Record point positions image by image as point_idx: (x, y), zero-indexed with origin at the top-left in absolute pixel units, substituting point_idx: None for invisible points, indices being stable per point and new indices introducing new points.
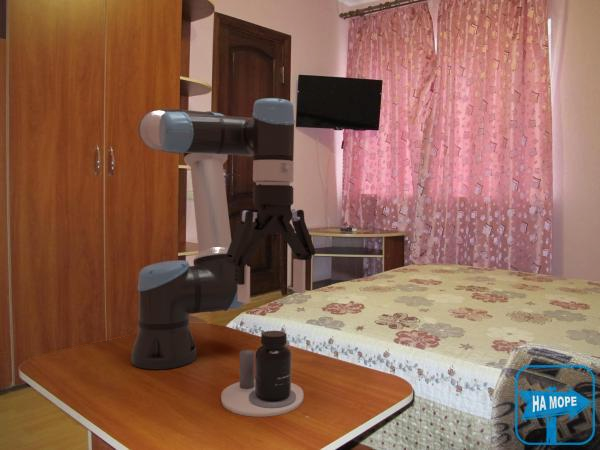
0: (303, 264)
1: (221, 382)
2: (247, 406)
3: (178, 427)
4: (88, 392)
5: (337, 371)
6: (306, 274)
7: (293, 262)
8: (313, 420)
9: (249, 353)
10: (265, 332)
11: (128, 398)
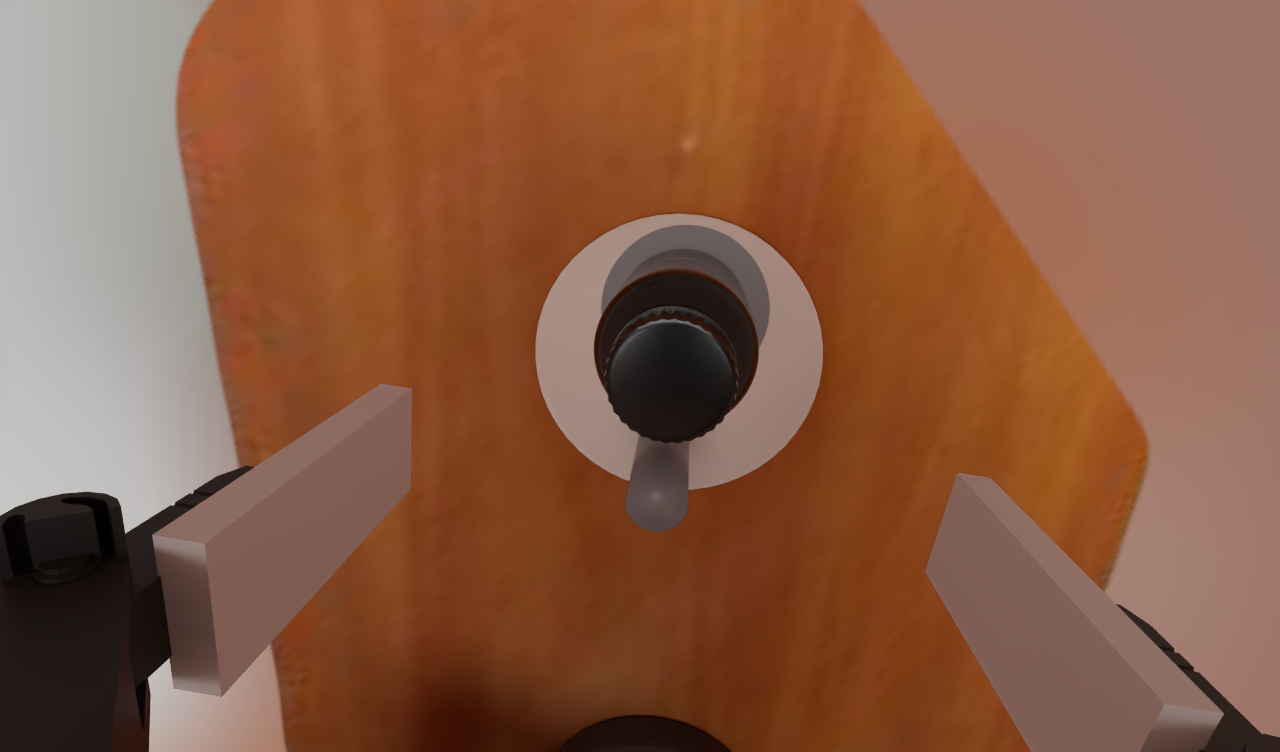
0: (230, 511)
1: (666, 544)
2: (790, 329)
3: (994, 409)
4: None
5: (306, 307)
6: (242, 467)
7: (250, 661)
8: (700, 103)
9: (661, 487)
10: (683, 429)
11: (928, 656)
